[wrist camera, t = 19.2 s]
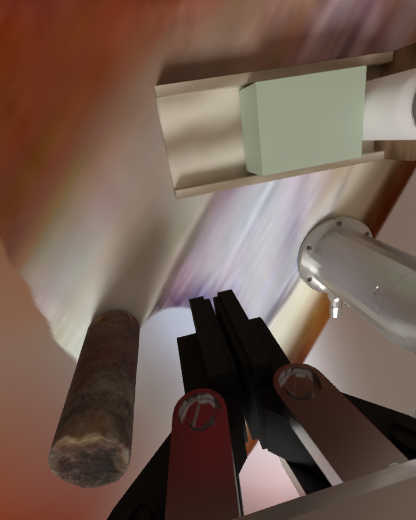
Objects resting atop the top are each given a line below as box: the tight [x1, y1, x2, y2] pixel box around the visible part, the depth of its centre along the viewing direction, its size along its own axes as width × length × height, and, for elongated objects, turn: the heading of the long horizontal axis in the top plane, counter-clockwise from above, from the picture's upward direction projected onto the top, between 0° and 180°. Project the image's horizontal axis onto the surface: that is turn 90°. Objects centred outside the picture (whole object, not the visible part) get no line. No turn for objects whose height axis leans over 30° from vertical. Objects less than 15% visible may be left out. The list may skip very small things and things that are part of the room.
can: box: [362, 68, 416, 140], centre depth 32 cm, size 6×6×12 cm
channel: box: [154, 43, 416, 199], centre depth 34 cm, size 12×30×8 cm, turn 99°
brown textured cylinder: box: [49, 311, 140, 488], centre depth 34 cm, size 8×7×20 cm
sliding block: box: [239, 65, 367, 176], centre depth 33 cm, size 9×12×6 cm
